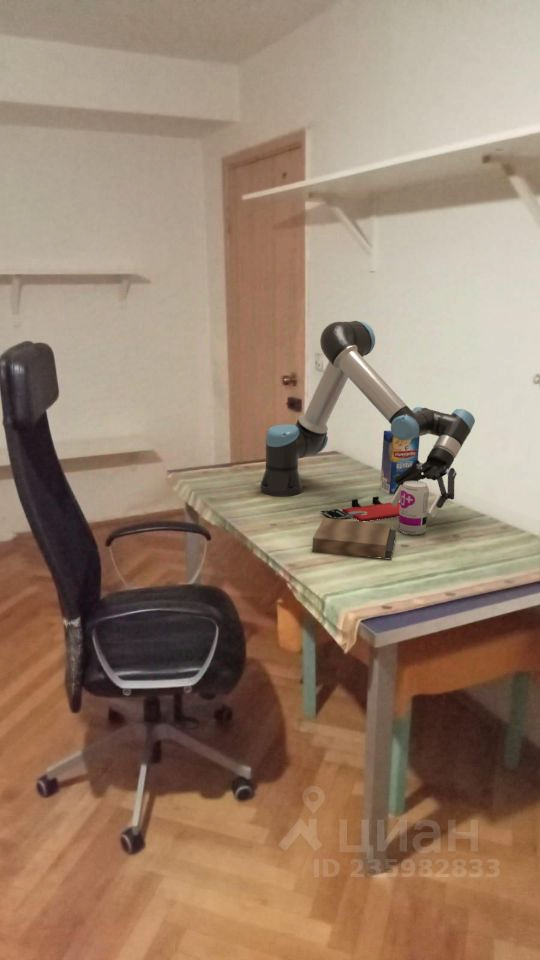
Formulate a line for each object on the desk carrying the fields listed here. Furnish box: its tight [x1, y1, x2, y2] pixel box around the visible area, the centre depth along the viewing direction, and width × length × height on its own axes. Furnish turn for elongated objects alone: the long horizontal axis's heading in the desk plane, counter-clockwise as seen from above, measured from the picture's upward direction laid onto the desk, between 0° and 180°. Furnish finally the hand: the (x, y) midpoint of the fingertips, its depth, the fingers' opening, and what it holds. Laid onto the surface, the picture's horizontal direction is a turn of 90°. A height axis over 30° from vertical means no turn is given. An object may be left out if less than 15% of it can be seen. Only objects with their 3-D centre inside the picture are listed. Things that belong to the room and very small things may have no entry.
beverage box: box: [379, 429, 421, 495], centre depth 243 cm, size 7×11×22 cm, turn 111°
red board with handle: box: [320, 496, 400, 522], centre depth 220 cm, size 30×3×15 cm
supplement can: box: [397, 480, 430, 536], centre depth 201 cm, size 8×8×15 cm
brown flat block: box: [311, 517, 397, 559], centre depth 191 cm, size 22×18×4 cm
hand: (411, 509), depth 200 cm, fingers open, 13 cm apart
